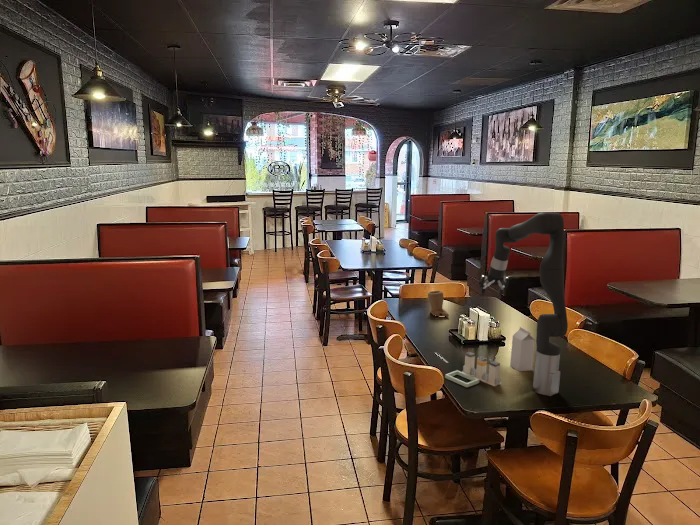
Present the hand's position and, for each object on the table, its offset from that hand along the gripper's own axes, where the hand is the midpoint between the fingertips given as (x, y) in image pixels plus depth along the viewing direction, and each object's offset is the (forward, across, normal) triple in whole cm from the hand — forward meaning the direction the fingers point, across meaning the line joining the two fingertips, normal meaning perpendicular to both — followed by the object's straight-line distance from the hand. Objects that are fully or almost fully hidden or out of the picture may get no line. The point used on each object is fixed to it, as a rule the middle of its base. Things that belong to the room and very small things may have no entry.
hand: (490, 294), depth 257 cm
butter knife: (+25, -23, -26) cm, 42 cm away
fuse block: (+18, -15, -45) cm, 51 cm away
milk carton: (+20, +9, -33) cm, 39 cm away
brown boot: (+44, -8, +49) cm, 66 cm away
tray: (+18, -24, -48) cm, 56 cm away
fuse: (+17, -15, -45) cm, 50 cm away
